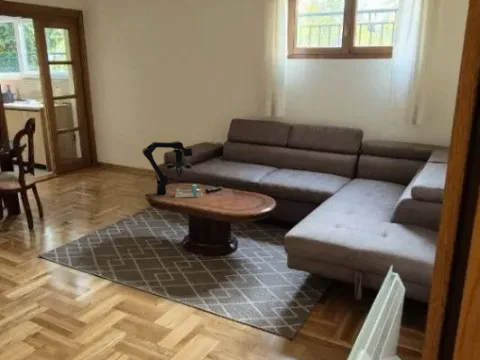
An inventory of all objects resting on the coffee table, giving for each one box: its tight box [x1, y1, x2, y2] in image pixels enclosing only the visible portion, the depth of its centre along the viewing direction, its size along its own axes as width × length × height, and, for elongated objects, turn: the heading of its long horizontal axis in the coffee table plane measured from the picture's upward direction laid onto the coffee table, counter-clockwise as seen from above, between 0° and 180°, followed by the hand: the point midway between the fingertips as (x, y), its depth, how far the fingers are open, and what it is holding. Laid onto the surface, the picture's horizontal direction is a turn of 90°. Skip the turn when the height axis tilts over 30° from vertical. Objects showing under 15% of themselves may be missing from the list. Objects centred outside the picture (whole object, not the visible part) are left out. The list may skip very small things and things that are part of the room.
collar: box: [192, 183, 198, 195], centre depth 322 cm, size 3×5×7 cm, turn 4°
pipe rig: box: [174, 187, 204, 198], centre depth 323 cm, size 21×8×5 cm, turn 94°
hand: (179, 176), depth 330 cm, fingers closed
